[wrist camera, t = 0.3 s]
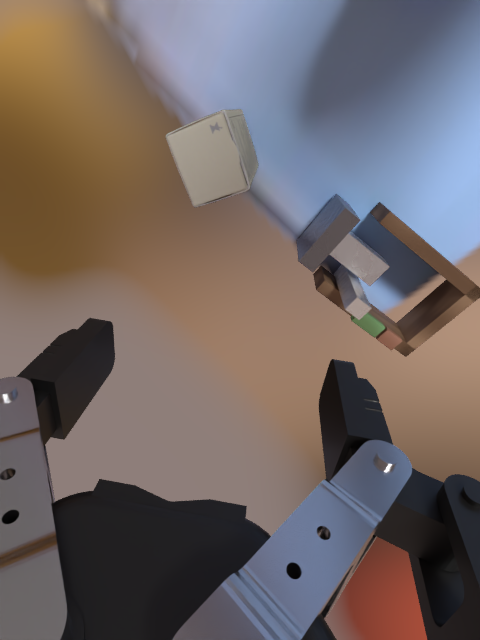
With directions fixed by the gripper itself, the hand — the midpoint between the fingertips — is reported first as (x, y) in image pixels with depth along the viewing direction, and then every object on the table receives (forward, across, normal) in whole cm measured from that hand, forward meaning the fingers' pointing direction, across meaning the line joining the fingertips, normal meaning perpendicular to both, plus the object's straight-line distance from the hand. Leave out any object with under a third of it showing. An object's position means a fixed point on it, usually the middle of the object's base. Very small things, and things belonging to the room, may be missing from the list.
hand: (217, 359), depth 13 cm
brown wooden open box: (+26, -14, +5) cm, 30 cm away
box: (+26, +4, -5) cm, 26 cm away
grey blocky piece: (+25, -8, +2) cm, 27 cm away
